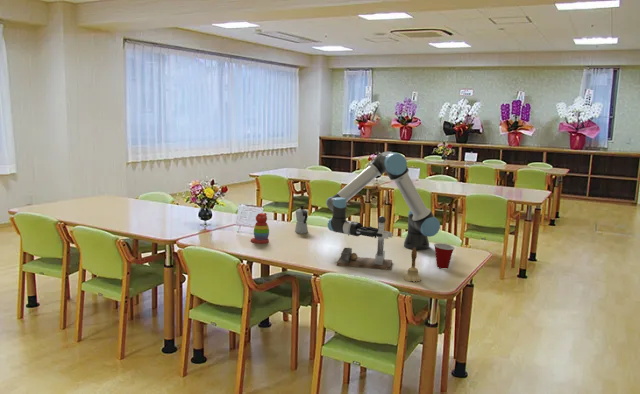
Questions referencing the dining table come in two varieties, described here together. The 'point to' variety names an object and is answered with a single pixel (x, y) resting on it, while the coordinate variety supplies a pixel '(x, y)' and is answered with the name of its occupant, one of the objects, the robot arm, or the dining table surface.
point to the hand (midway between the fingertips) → (390, 235)
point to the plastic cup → (443, 254)
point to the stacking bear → (261, 229)
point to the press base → (360, 261)
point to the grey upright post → (380, 243)
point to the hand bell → (413, 269)
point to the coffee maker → (301, 221)
